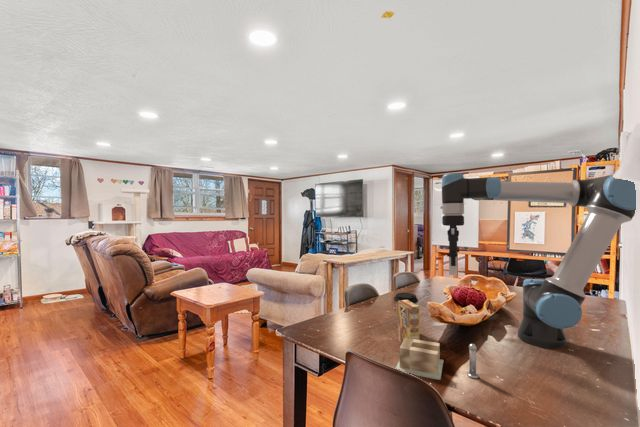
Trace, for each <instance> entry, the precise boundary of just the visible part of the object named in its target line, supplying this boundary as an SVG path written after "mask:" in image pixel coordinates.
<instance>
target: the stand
mask: <svg viewBox="0 0 640 427" xmlns="http://www.w3.org/2000/svg"><path fill="white" fill-rule="evenodd" d="M477 348H478V347H477V345H476V344H475V343H470V344H468V349H469V350H468V351H469V352H468V353H469V354H468V355H469V359H468V360H469V370H468V372H467V373H466V375H467V377H468V378H471V379H475V380H477V379H479V374H478V373H477Z"/></svg>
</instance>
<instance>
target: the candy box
mask: <svg viewBox="0 0 640 427" xmlns="http://www.w3.org/2000/svg"><path fill="white" fill-rule="evenodd" d="M398 321H399V329H398V341H399V342H400V343H401V344H402V342H403V340H404V338H410V339H416V340H421V339H420V338H421V337H420V306H419V305H418V304H417V305H416V304H414V303H412V302H410V301H409V300H399V301H398V320H397V322H398Z"/></svg>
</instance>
